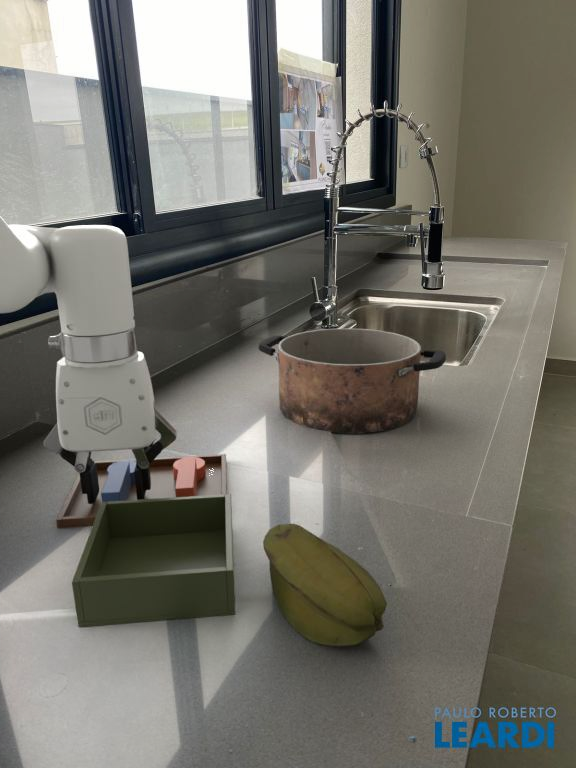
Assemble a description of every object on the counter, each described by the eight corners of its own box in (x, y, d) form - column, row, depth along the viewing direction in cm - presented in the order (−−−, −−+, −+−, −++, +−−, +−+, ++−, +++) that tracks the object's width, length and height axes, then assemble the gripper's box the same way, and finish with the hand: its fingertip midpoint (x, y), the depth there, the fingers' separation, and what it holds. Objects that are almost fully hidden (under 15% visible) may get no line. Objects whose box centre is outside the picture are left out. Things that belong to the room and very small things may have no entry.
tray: (57, 531, 65) (55, 519, 64) (85, 471, 78) (84, 461, 78) (227, 520, 67) (227, 508, 66) (226, 463, 80) (225, 453, 80)
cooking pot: (234, 419, 95) (231, 353, 91) (289, 378, 114) (289, 322, 111) (426, 449, 83) (431, 375, 80) (451, 397, 103) (456, 336, 99)
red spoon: (168, 513, 67) (165, 489, 66) (175, 468, 78) (173, 447, 77) (204, 510, 68) (202, 487, 67) (206, 467, 78) (204, 445, 77)
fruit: (237, 650, 48) (233, 580, 46) (274, 562, 59) (272, 502, 57) (381, 673, 46) (384, 600, 44) (392, 577, 57) (395, 515, 55)
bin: (78, 627, 51) (71, 582, 49) (106, 539, 63) (101, 501, 62) (235, 614, 52) (233, 570, 51) (232, 531, 65) (230, 493, 63)
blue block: (94, 517, 67) (91, 493, 66) (111, 472, 77) (109, 451, 76) (131, 515, 67) (128, 491, 66) (143, 470, 77) (141, 449, 76)
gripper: (6, 358, 60) (33, 518, 66) (179, 351, 62) (190, 508, 68) (28, 339, 67) (51, 485, 73) (183, 333, 69) (193, 477, 75)
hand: (117, 495), depth 70 cm, fingers open, 4 cm apart
